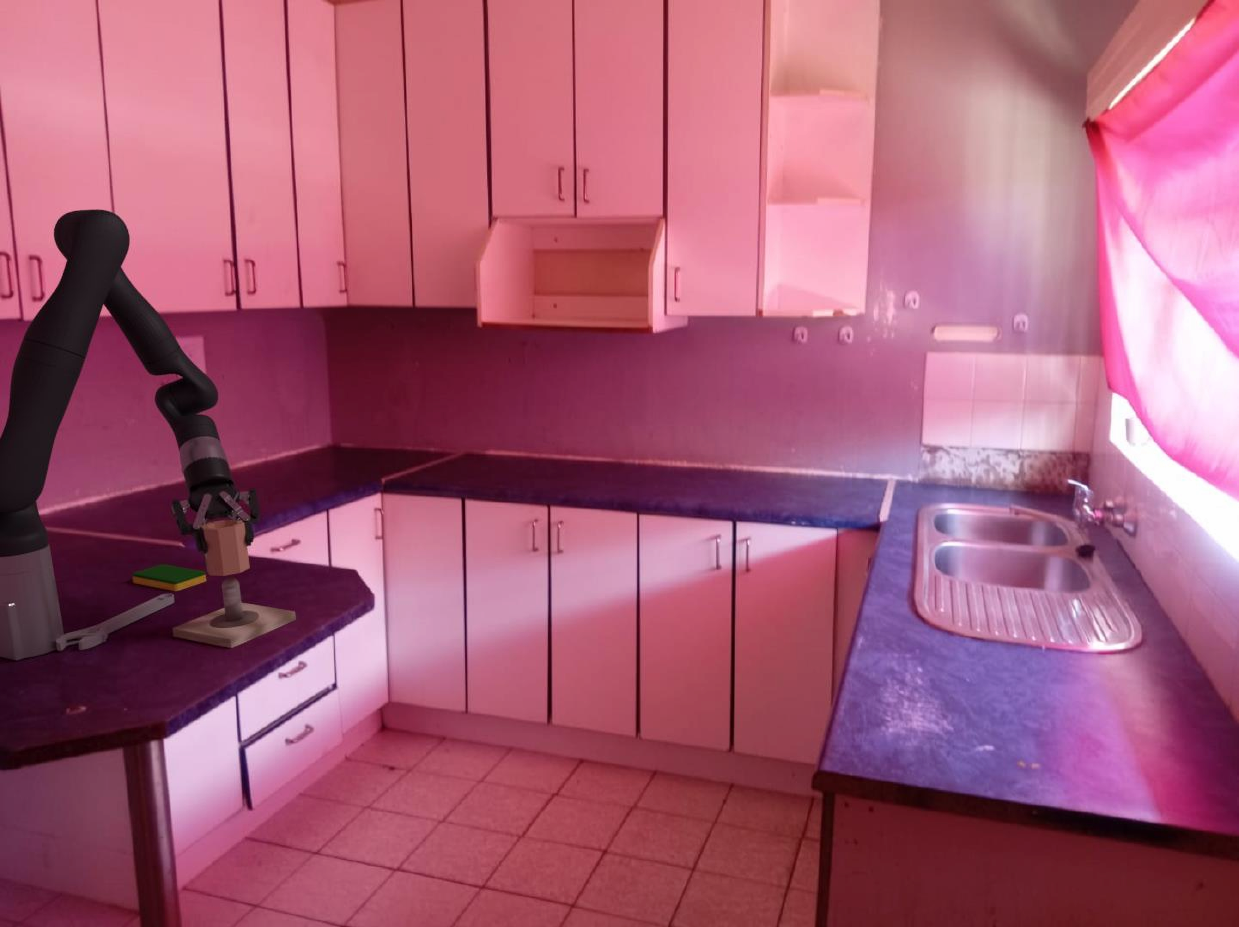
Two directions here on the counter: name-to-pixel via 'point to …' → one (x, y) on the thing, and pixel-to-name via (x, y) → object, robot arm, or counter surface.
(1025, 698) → the counter surface
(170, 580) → the dish sponge
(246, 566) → the collar
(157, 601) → the adjustable wrench
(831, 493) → the counter surface
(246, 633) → the post stand
